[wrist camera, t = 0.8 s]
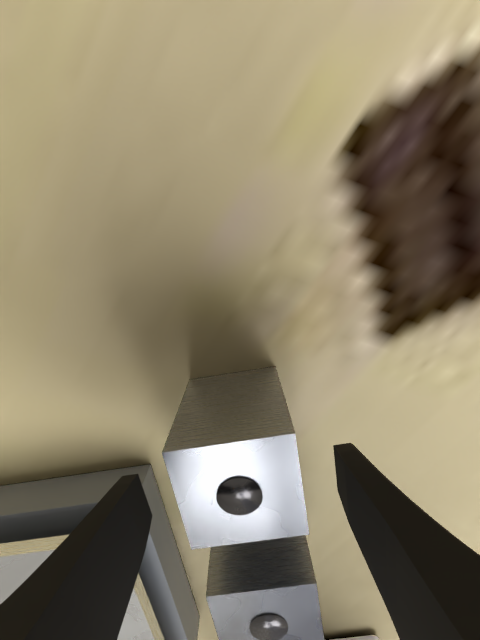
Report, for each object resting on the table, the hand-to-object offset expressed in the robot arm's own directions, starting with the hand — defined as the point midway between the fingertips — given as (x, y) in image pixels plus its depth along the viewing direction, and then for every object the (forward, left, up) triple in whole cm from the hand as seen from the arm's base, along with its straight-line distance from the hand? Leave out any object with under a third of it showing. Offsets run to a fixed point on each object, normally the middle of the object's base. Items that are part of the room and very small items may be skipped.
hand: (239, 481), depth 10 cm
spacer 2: (-7, 0, -5) cm, 8 cm away
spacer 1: (0, 0, -5) cm, 5 cm away
